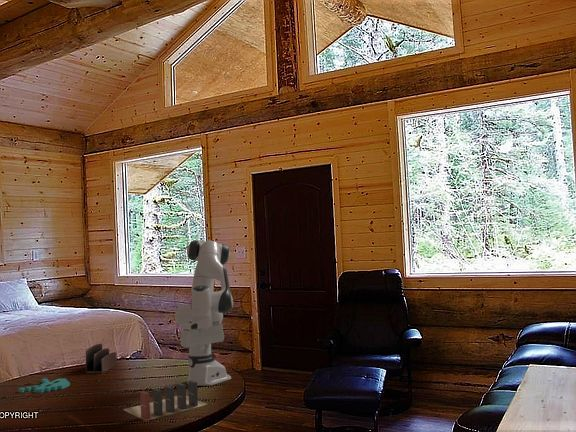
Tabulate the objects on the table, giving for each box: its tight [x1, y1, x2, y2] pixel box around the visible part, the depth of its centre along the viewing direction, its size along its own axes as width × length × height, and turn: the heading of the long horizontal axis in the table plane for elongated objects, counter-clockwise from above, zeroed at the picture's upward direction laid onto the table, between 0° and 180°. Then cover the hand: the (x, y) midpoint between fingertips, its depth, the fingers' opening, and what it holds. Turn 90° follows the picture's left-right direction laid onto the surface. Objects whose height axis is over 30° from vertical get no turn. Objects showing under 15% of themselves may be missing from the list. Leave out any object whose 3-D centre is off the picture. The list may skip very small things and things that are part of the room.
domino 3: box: [176, 382, 187, 410], centre depth 232 cm, size 2×5×10 cm, turn 39°
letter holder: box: [85, 343, 118, 375], centre depth 319 cm, size 10×20×14 cm, turn 174°
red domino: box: [139, 390, 151, 419], centre depth 222 cm, size 2×5×10 cm, turn 40°
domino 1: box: [152, 387, 163, 416], centre depth 225 cm, size 2×5×10 cm, turn 39°
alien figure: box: [17, 378, 71, 394], centre depth 283 cm, size 20×2×20 cm
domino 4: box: [187, 380, 199, 407], centre depth 236 cm, size 2×5×10 cm, turn 39°
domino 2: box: [164, 385, 175, 413], centre depth 229 cm, size 2×5×10 cm, turn 40°
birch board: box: [122, 395, 208, 422], centre depth 235 cm, size 29×22×1 cm
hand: (203, 354), depth 240 cm, fingers closed
